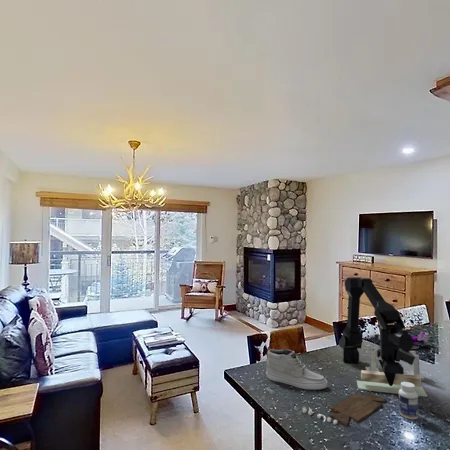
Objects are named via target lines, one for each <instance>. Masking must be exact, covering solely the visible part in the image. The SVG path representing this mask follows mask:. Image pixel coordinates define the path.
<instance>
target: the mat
mask: <svg viewBox="0 0 450 450" xmlns="http://www.w3.org/2000/svg"><path fill="white" fill-rule="evenodd" d="M356 384H357V389H358V390H359V391H361V390H362V391H371V392H379V393H387V394H396V395H397V394H398V395H399V390H400V389H402V388H401V385H395V384H393V386H389V384H385V383H376V382H366V381H362V380H356ZM415 392H416V393H417V394H418V397H422V396H423V397H424V398H425V397H426V398H428V394H427V392H426V391H425V390H424V389H423V387H422V386H421V387H415Z"/></svg>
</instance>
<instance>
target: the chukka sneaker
mask: <svg viewBox="0 0 450 450" xmlns="http://www.w3.org/2000/svg"><path fill="white" fill-rule="evenodd" d="M266 355H267V358H266V371H265V375H266V377H267V379H268V380H270V381H274V382H278V383H282V384H286V385H290V386H292V387H295V388H300V389H303V390H323V389H326V388H328V386H329V383H328V380H327V378H325V377H324V375H322V374H320V373H317V372H314V371H311V370H310V369H308V368H307V367H306V365H305V364H303V363H302V361H301V360H300V359H299V358H298V356H297V354H296V352H295V350H292V349H287V348H286V349H285V348H284V349H268V350H267V354H266Z"/></svg>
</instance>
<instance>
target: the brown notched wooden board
mask: <svg viewBox="0 0 450 450" xmlns="http://www.w3.org/2000/svg"><path fill="white" fill-rule="evenodd" d="M386 402H387V399H386V398H384V397H381V396H379V395H376V394H374V393H372V392H367V393H365V396H363V395H360V394H358V393H355V394H353V395H351V396H350V397H347V398H345V399H343V400H341V401H339V402H338V403H336V404H334V405H332V406H331V407H330V408H329V409H330V411H331V412H333V413H330V414H329V418H331V420H333V421H334V420H337V421H338V423H339V424H340V425H342V426H343V427H347V426H348V425H349V422H350V420H352V421H353V422H355V423H356V424H357V423H358V424H359V423H360V422H363V419H364V420H365V419H367V418H368V417H369V416H371V415H372V414H374V413H375V412H376V411H378V410H380V409H381V408H382V407H383V406H384V403H386Z"/></svg>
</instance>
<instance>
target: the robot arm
mask: <svg viewBox="0 0 450 450" xmlns="http://www.w3.org/2000/svg"><path fill="white" fill-rule="evenodd" d="M344 288H345V289H344V290H345V292H346V293H347V295H348V299H347V301H348V302H347V303H348V304H347V321H346V326H345V327H344V329H343V331H342V335H341V338H340V339H339V340H338V346H339V347H340V348H341V349H342V361H343V363H346V364H357V365H358V364H359V362H360V352H359V349H362V345H363V341H364V340H363V337H364V336H363V333H362V332H361V330H360V328H359V325H360V323H359V322H360V306H361V305H360V304H361V297H362V296H363V294H365V296H366V297H367V299H368V301H369V302H370V304H371V305H372V307H373V309H374V312H373V313H374V316H375V318H376V320H377V322H378V324H376V327H377V328H379V336H380V340H379V342H378V343H379V344H378V346H379V345H380V346H379V348H378V349H377V350H376V358H380V359H378V362H379V365H380V367H381V370H382V372H384V374H385V376H386V379H387V381H388V384H389V386H393V382H394V378H395V375H396V374H405V372H404V371H405V370H404V367H403V364H401V363H400V362H401V361H402V362H404V363H407V364H408V365H409V366H410V365H413V362H414V359H415V356H414V355H413V354H412V353H411V352H410V351H411V350H412V349H411V348H412V347H413V346H414V345H415V344H414V340H413V338H412V337H411V336H412V335H410V333H409V331H408V330H407V329H406V326H405V323H404V321H403V319H402V317H401V315H400V312H399V311H398V309H396V308H395V307H394V306H393V305H392V304H390V303H389V302H387V301H386V300H385V299H384V297H383V296H382V294H381V293H380V292H379V290H378V289H377V287H376V286H375V285H374V282H373V279H371V278H369V277H364V278H363V277H361V276H360V277H357V276H356V277H354V276H353V277H349V276H348V277H347V278H346V279H345V280H344ZM399 348H400V349H399Z"/></svg>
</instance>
